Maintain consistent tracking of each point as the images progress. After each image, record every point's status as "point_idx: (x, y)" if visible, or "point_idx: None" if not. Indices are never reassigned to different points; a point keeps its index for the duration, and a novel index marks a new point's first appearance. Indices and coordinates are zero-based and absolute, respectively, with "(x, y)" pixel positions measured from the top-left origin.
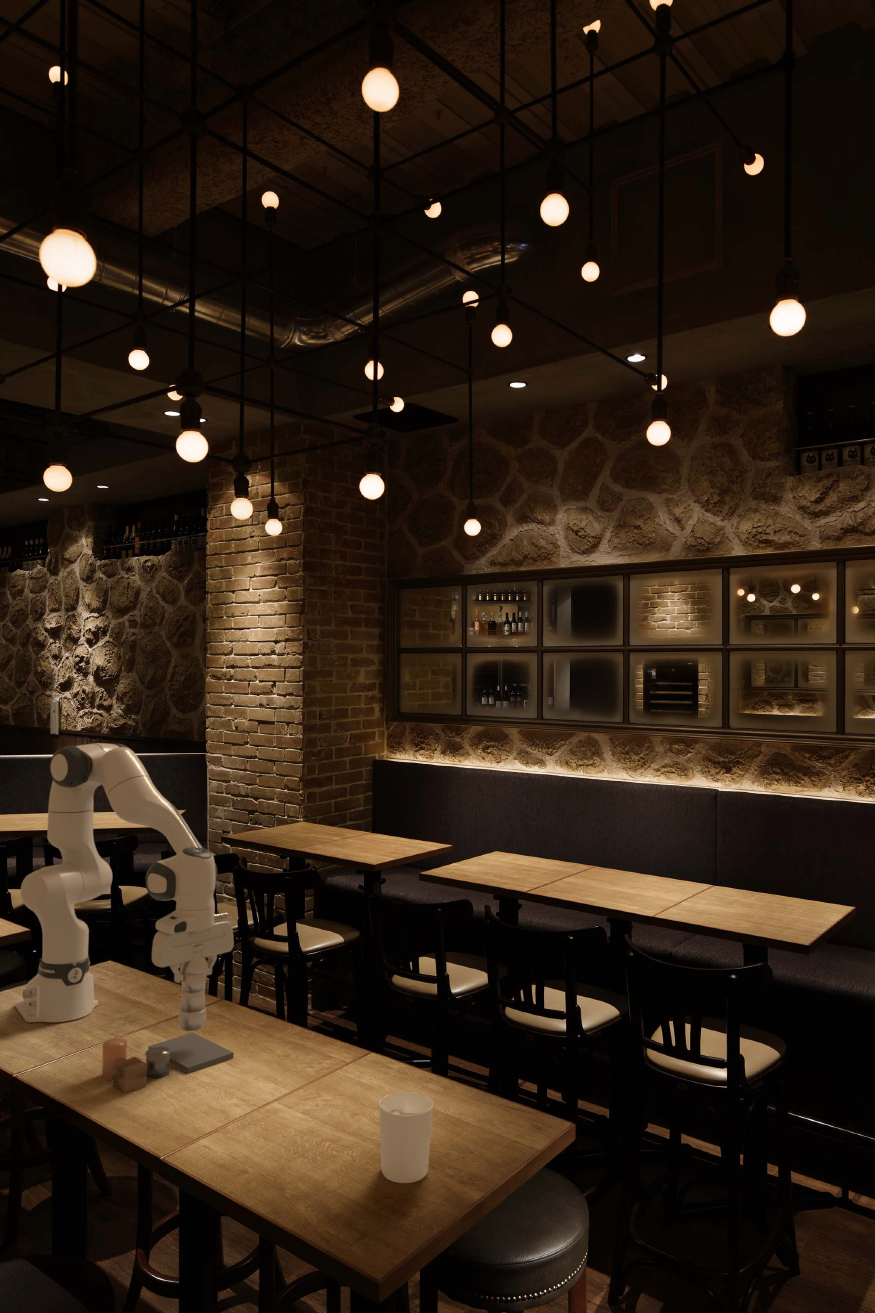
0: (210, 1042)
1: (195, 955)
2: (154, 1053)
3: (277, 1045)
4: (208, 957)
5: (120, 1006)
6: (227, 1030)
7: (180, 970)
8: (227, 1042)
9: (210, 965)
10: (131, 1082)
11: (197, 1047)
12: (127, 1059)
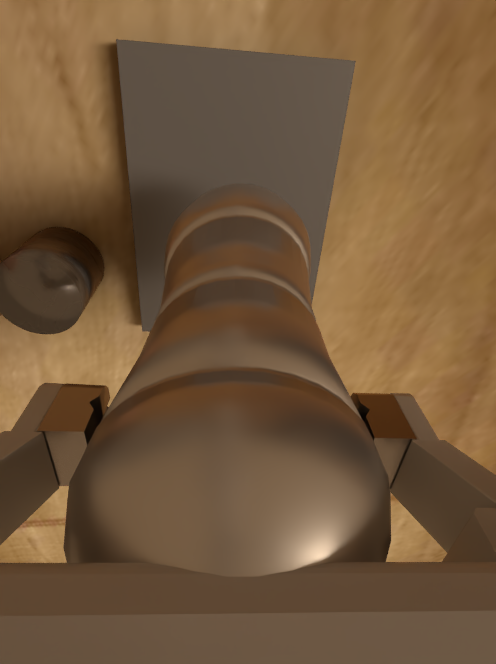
0: (319, 220)
1: None
2: (15, 307)
3: (444, 346)
4: (464, 549)
5: None
6: (490, 114)
7: (92, 436)
8: (387, 219)
9: (406, 504)
10: None
11: None
12: None
